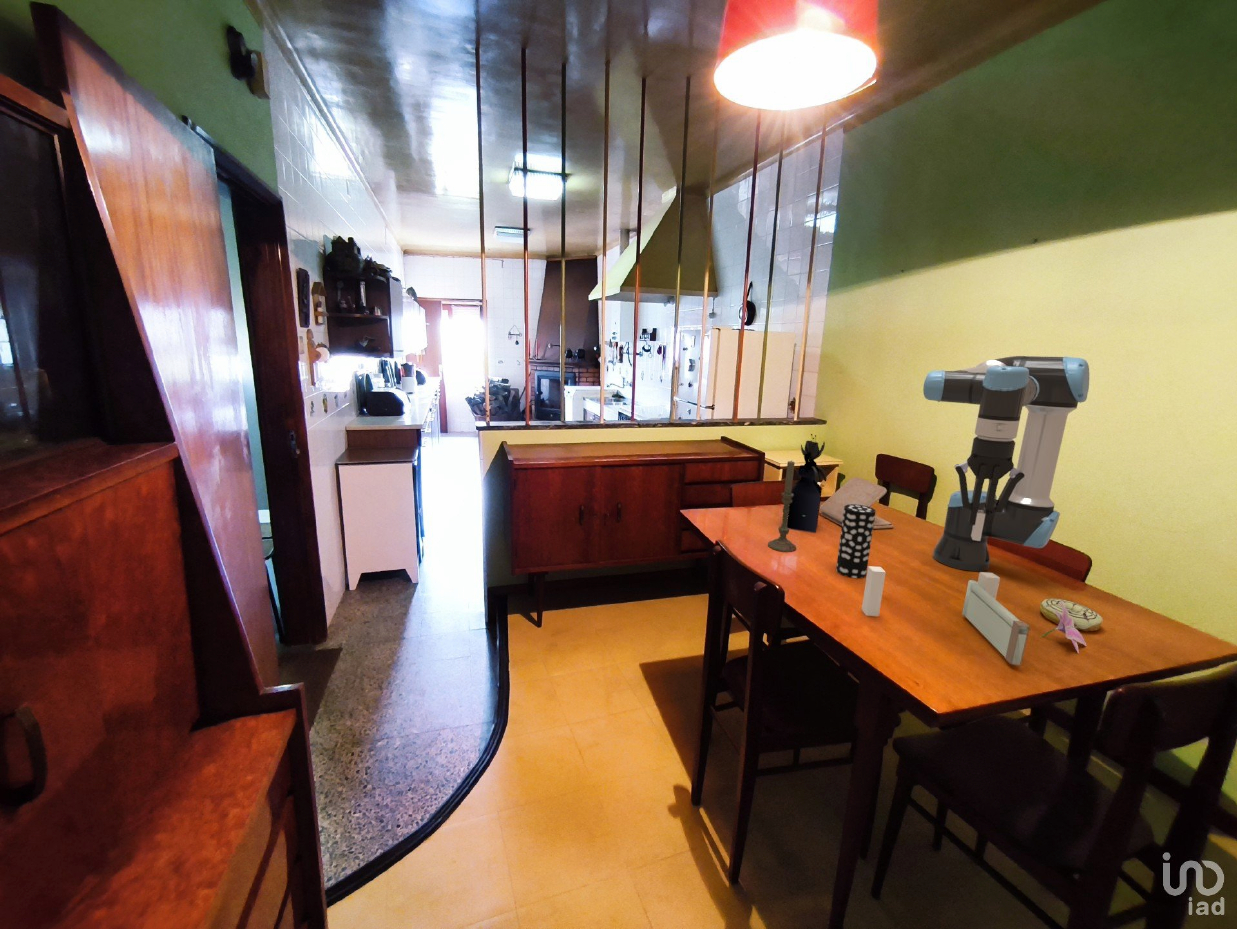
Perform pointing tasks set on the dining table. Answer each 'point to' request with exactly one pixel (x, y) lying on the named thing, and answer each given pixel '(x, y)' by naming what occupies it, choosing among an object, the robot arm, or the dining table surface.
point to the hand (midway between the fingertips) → (975, 538)
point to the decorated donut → (1072, 614)
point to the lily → (1068, 627)
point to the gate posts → (877, 582)
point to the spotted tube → (855, 540)
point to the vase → (807, 491)
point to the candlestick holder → (785, 515)
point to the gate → (996, 623)
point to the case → (854, 500)
